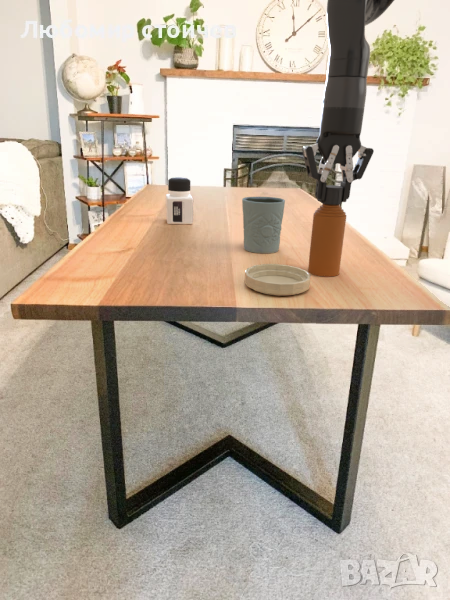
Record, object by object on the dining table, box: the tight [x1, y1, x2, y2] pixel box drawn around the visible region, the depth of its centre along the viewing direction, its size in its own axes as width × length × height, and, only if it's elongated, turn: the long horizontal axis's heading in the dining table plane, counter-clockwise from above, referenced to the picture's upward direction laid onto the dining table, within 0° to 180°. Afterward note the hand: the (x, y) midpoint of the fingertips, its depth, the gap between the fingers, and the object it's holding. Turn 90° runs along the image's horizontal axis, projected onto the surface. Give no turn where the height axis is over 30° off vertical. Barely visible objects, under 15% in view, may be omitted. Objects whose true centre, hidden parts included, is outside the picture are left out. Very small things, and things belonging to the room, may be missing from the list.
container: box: [165, 176, 194, 225], centre depth 133 cm, size 8×8×13 cm
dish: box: [244, 263, 312, 297], centre depth 83 cm, size 12×12×2 cm
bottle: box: [307, 203, 347, 278], centre depth 89 cm, size 6×6×17 cm
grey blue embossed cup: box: [241, 196, 286, 254], centre depth 106 cm, size 10×10×12 cm
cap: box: [320, 184, 344, 205], centre depth 87 cm, size 4×4×3 cm
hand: (331, 200), depth 87 cm, fingers closed on cap, 4 cm apart
